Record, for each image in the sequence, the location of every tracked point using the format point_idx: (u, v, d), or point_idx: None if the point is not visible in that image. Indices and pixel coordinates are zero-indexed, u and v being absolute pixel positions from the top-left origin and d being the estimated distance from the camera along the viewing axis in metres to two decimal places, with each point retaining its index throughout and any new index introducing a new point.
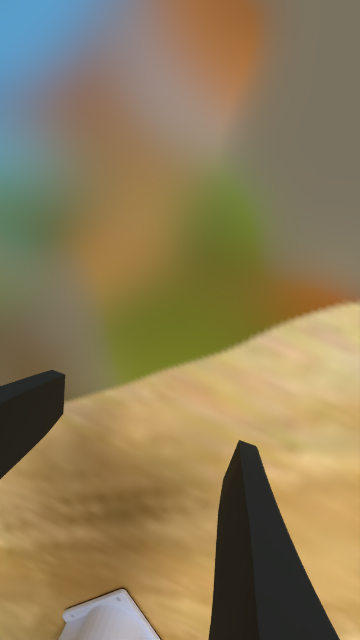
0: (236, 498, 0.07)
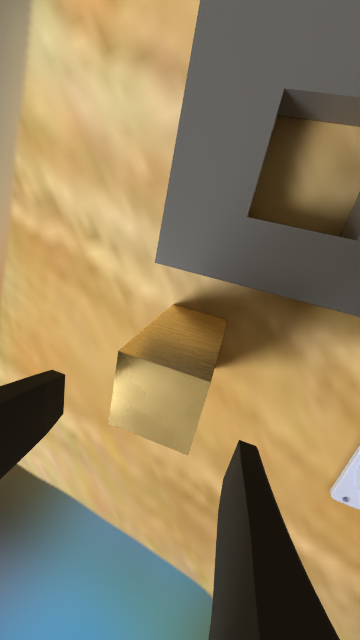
0: (236, 498, 0.07)
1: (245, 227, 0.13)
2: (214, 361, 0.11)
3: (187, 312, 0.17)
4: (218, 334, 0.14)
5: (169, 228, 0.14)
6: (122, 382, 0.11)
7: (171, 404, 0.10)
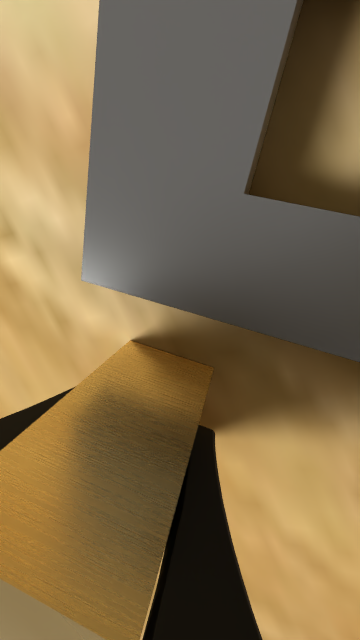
0: (184, 476, 0.07)
1: (240, 215, 0.06)
2: (168, 518, 0.05)
3: (149, 356, 0.10)
4: (193, 408, 0.08)
5: (100, 218, 0.07)
6: None
7: None
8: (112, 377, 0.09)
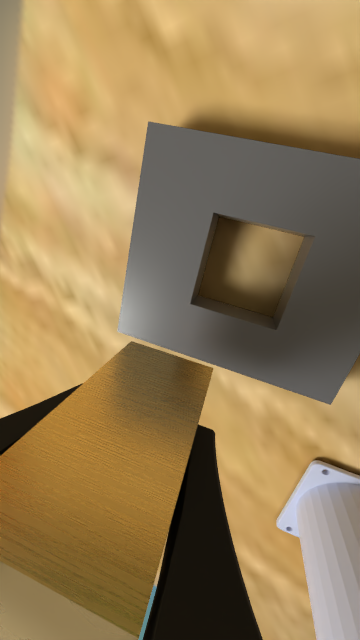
0: (184, 477, 0.07)
1: (189, 311, 0.15)
2: (169, 513, 0.05)
3: (150, 357, 0.11)
4: (193, 408, 0.08)
5: (128, 306, 0.16)
6: None
7: None
8: (114, 377, 0.09)
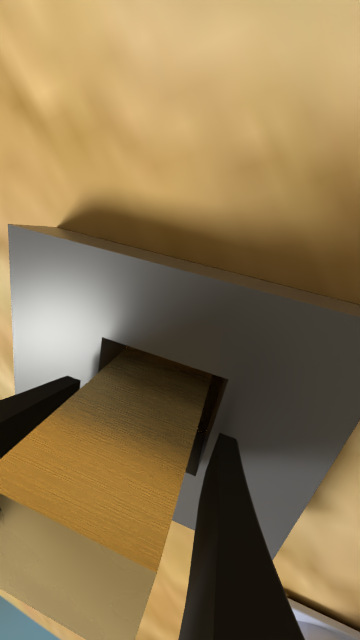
0: (212, 488, 0.07)
1: None
2: (178, 481, 0.06)
3: None
4: (197, 396, 0.09)
5: None
6: None
7: (85, 585, 0.05)
8: (125, 369, 0.10)
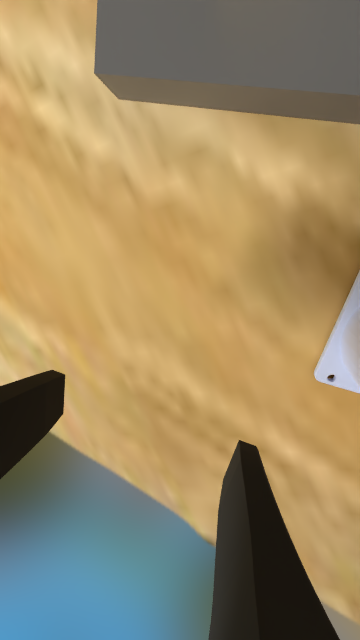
0: (236, 498, 0.07)
1: None
2: None
3: None
4: None
5: (106, 19, 0.12)
6: None
7: None
8: None
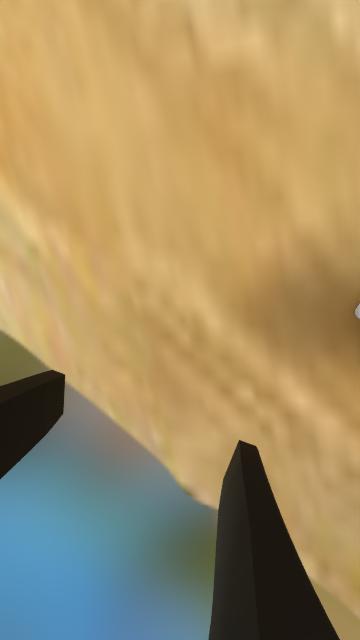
0: (236, 498, 0.07)
1: None
2: None
3: None
4: None
5: None
6: None
7: None
8: None
